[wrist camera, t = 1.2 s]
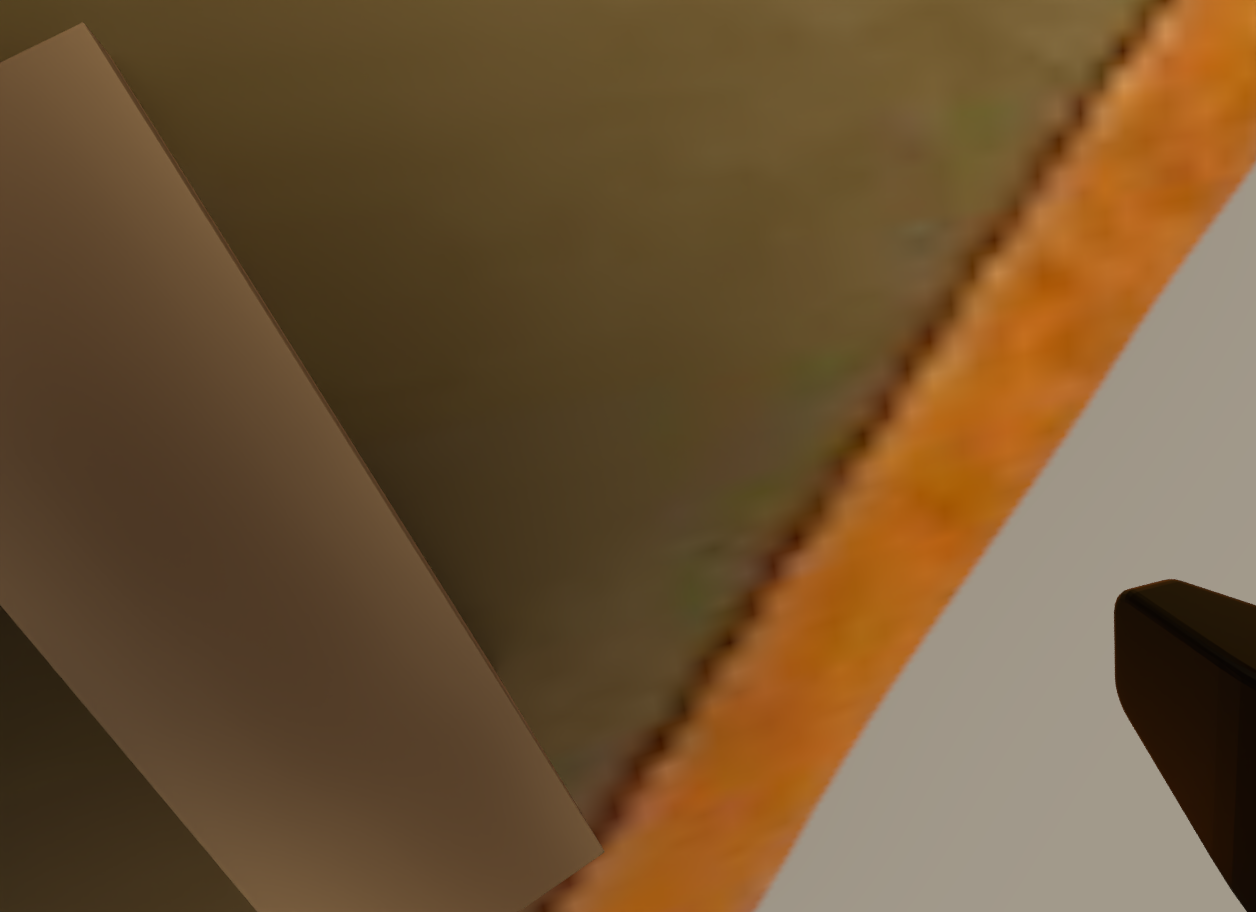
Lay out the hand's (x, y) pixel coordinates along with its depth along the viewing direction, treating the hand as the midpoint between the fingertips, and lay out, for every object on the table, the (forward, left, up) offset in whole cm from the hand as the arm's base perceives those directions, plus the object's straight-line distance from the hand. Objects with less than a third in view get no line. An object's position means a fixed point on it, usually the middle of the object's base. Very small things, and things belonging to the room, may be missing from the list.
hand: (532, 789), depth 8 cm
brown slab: (-2, 0, -12) cm, 12 cm away
